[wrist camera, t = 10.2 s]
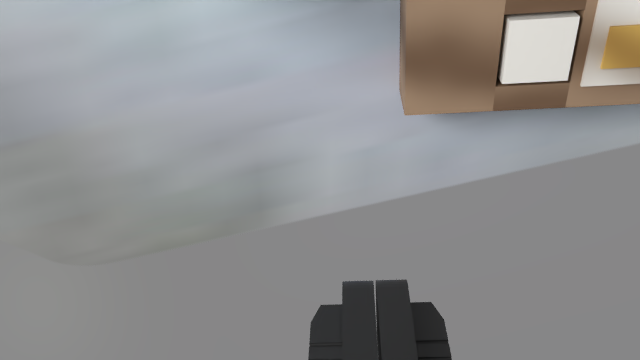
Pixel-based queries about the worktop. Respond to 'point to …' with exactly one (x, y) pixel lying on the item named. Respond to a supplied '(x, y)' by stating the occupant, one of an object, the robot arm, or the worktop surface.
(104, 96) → the worktop surface
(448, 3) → the button board
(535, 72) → the button
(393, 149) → the worktop surface
